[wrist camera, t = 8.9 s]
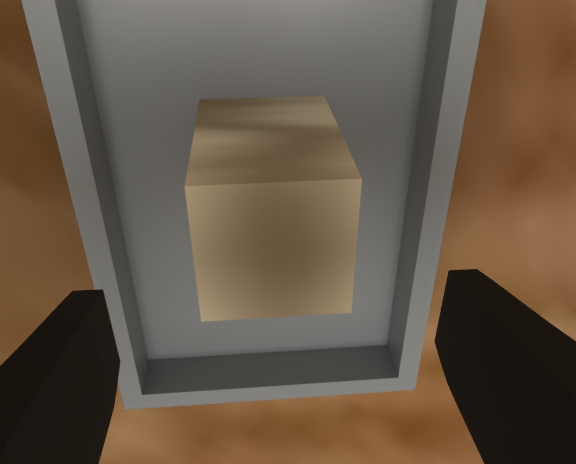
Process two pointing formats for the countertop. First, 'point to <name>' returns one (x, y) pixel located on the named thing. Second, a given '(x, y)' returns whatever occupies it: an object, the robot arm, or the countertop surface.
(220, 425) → the countertop surface
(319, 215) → the block
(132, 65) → the tray
